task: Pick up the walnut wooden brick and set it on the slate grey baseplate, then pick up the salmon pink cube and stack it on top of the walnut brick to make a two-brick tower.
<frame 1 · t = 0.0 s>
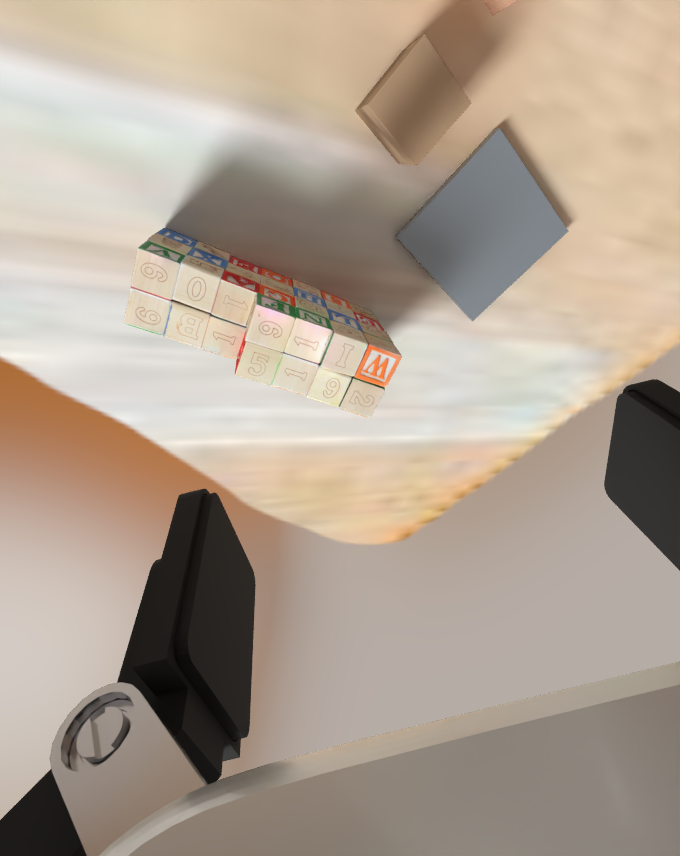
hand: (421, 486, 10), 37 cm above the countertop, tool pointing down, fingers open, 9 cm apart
walnut brick: (400, 110, 38), on the countertop
stack of blocks: (266, 301, 45), on the countertop
baseplate: (480, 233, 44), on the countertop
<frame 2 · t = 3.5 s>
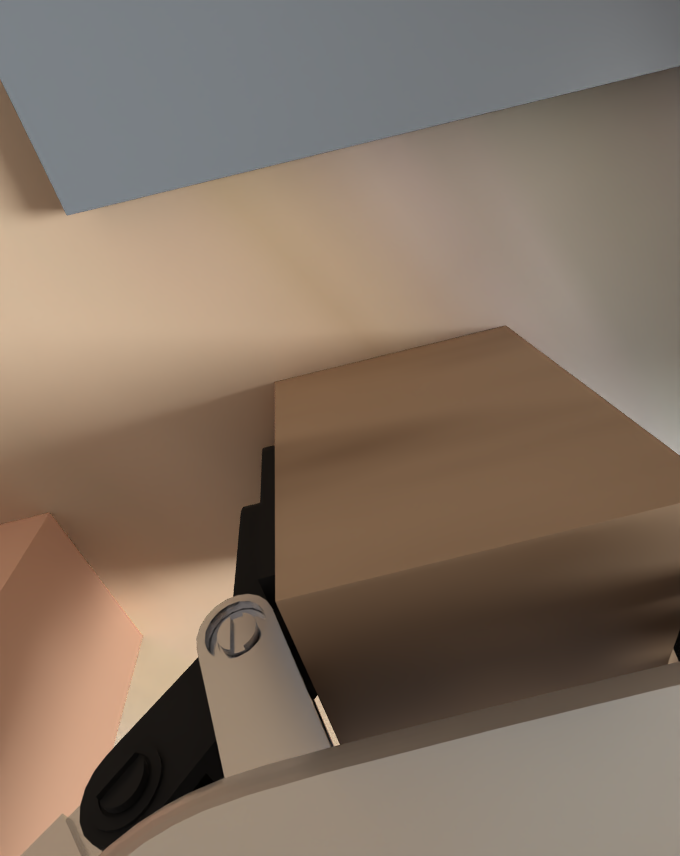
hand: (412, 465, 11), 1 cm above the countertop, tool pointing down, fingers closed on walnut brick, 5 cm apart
salmon pink cube: (10, 601, 13), on the countertop
walnut brick: (404, 448, 12), on the countertop, touching gripper
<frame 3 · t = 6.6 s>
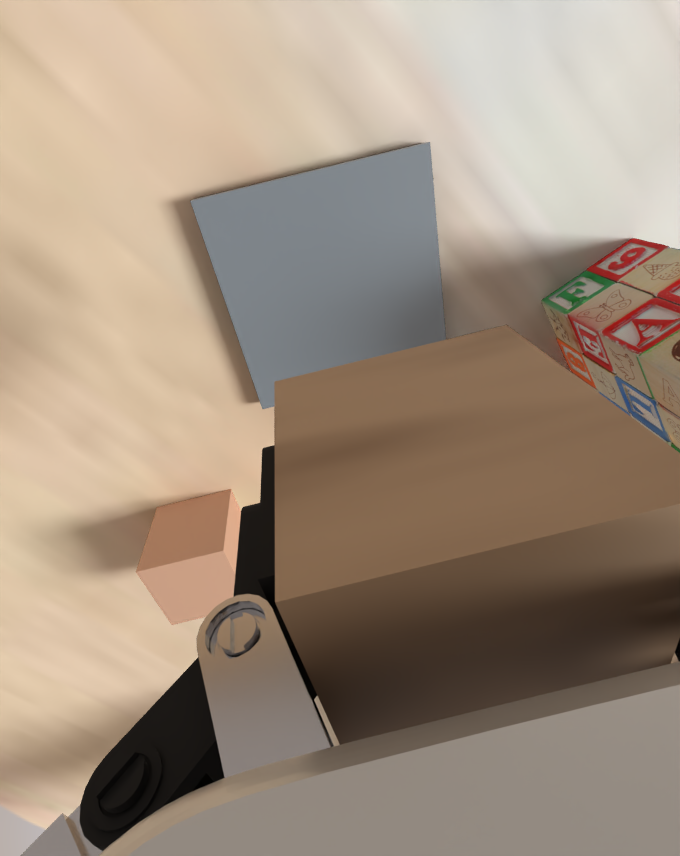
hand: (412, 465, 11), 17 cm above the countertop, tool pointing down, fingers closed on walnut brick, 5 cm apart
salmon pink cube: (207, 524, 34), on the countertop
walnut brick: (405, 448, 12), point 17 cm above the countertop, touching gripper
stack of blocks: (627, 388, 33), on the countertop
baseplate: (333, 288, 26), on the countertop
when the fingers open (3 cm above the countertop, at t = 9.6 s): walnut brick drops 1 cm, resting on baseplate.
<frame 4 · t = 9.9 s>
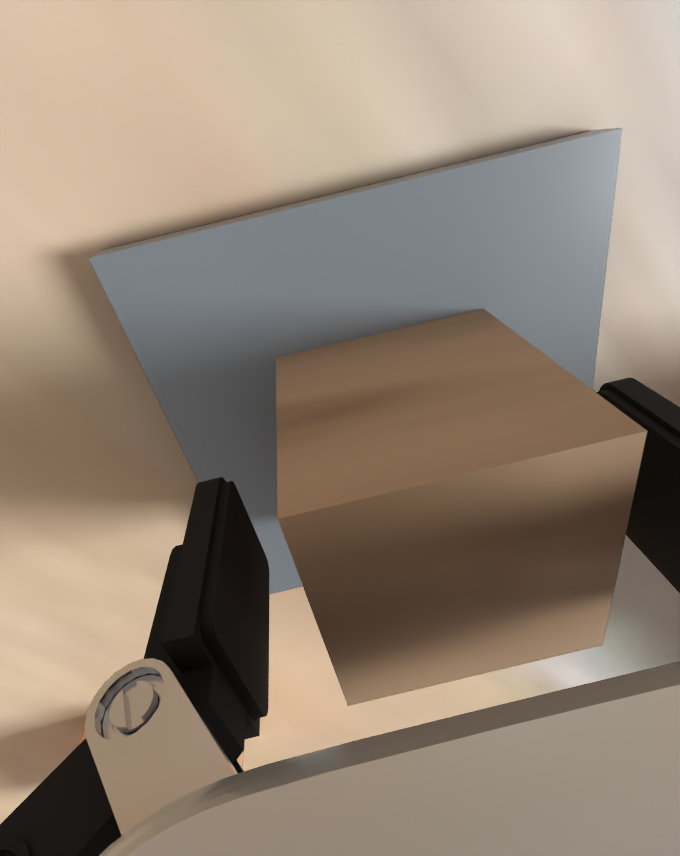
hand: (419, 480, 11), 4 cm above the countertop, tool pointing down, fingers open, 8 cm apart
walnut brick: (393, 421, 13), point 1 cm above the countertop, touching baseplate
baseplate: (385, 404, 14), on the countertop
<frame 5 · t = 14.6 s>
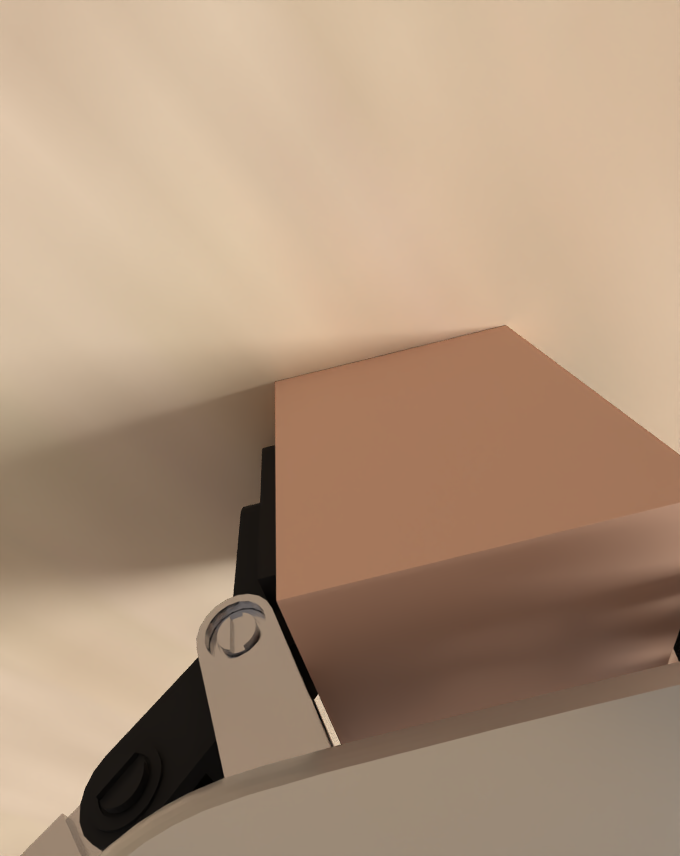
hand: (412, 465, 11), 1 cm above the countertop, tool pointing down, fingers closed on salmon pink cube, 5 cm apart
salmon pink cube: (405, 448, 12), on the countertop, touching gripper
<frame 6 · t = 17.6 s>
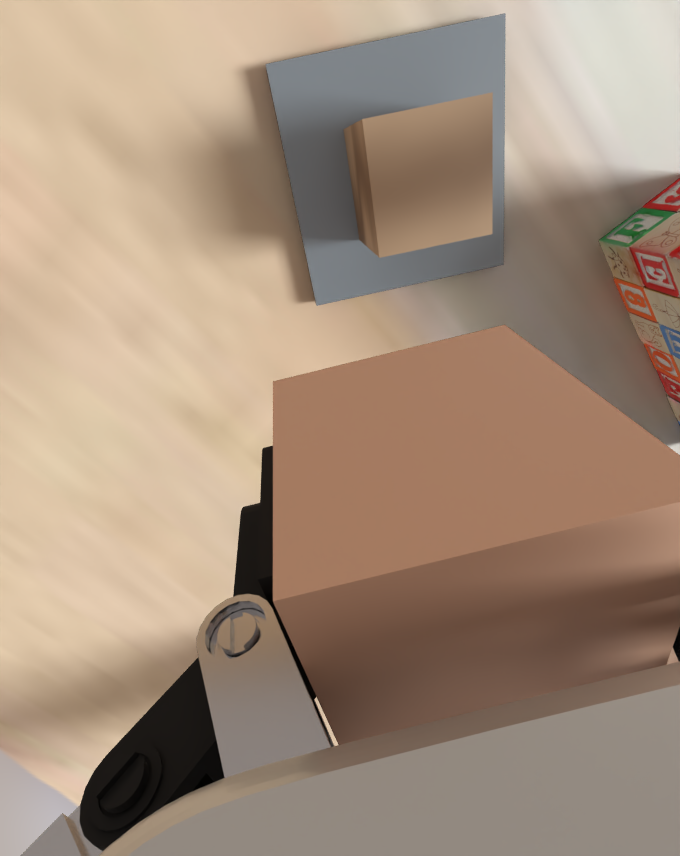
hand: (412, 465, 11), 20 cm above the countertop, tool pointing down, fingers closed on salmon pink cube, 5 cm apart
salmon pink cube: (403, 448, 12), point 19 cm above the countertop, touching gripper
walnut brick: (400, 177, 25), point 1 cm above the countertop, touching baseplate
baseplate: (395, 176, 26), on the countertop
when the fingers open (9 cm above the countertop, at t = 20.5 s): salmon pink cube drops 1 cm, resting on walnut brick.
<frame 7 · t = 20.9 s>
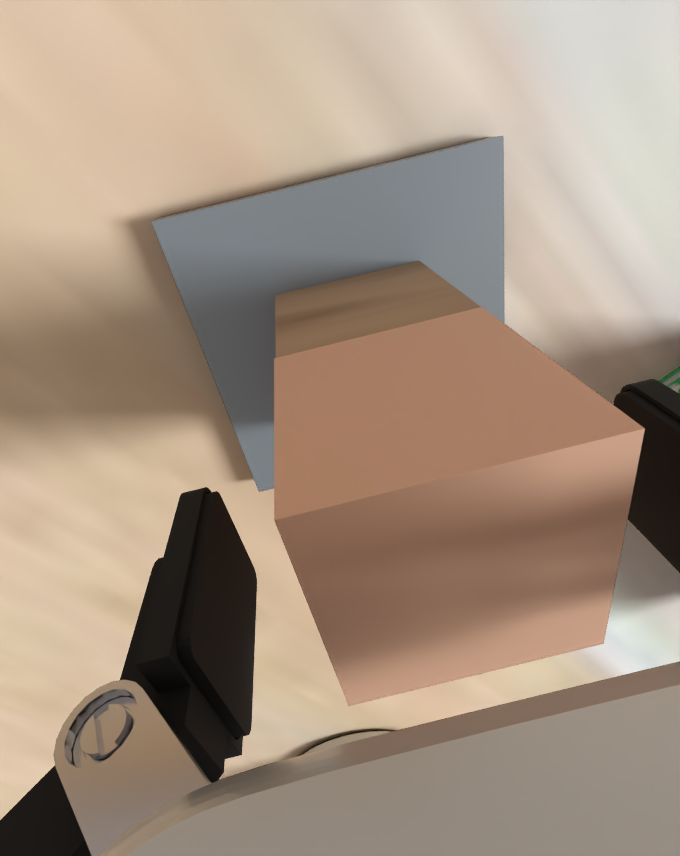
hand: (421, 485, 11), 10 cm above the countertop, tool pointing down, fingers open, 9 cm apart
salmon pink cube: (392, 421, 13), point 7 cm above the countertop, touching walnut brick
walnut brick: (359, 346, 18), point 1 cm above the countertop, touching baseplate, salmon pink cube
baseplate: (355, 336, 19), on the countertop
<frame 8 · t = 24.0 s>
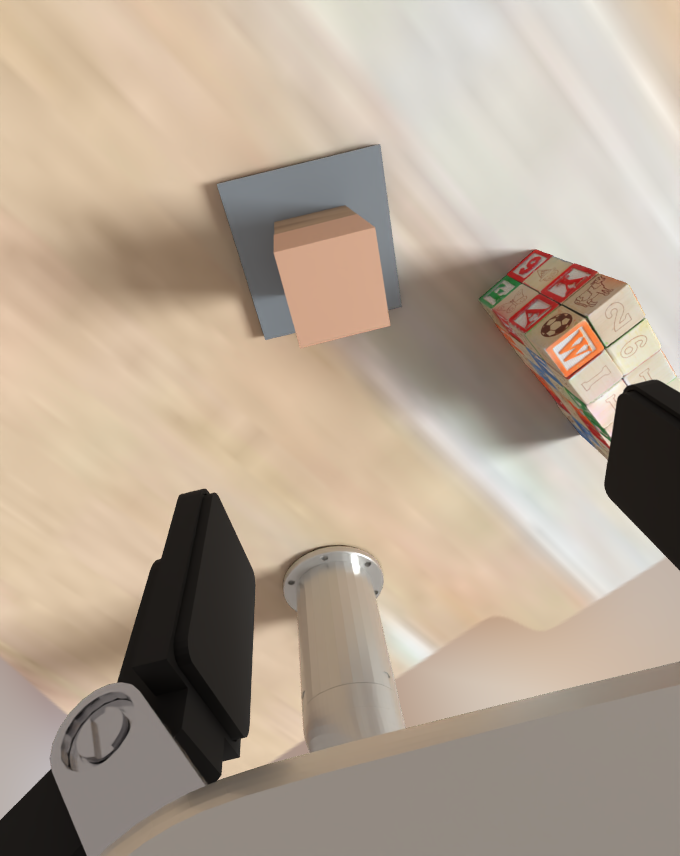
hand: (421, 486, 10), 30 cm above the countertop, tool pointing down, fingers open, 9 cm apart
salmon pink cube: (324, 267, 30), point 7 cm above the countertop, touching walnut brick
walnut brick: (317, 251, 35), point 1 cm above the countertop, touching baseplate, salmon pink cube
stack of blocks: (558, 352, 44), on the countertop
baseplate: (316, 248, 36), on the countertop
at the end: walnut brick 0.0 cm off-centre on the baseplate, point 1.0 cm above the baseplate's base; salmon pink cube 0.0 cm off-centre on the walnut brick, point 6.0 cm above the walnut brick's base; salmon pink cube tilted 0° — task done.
